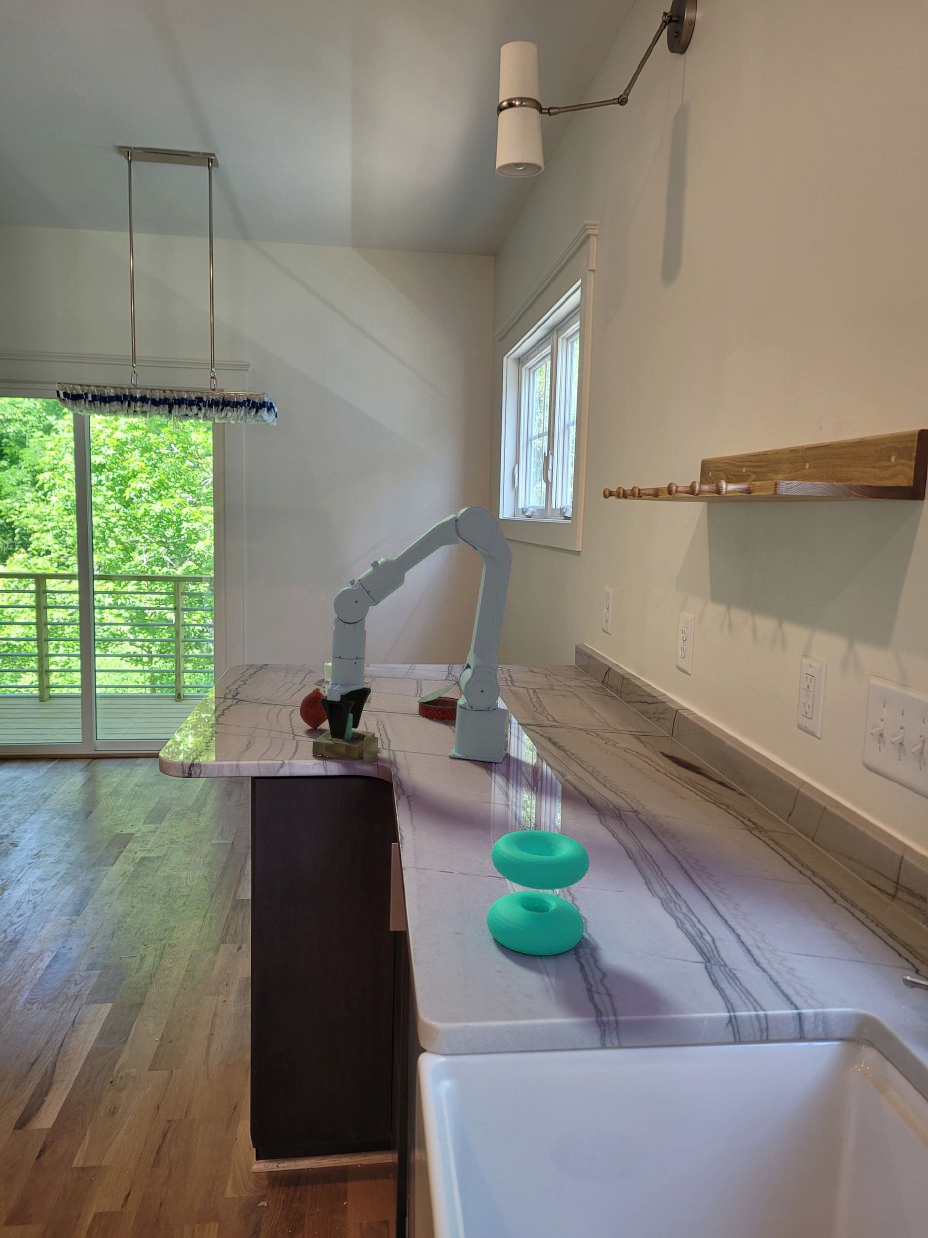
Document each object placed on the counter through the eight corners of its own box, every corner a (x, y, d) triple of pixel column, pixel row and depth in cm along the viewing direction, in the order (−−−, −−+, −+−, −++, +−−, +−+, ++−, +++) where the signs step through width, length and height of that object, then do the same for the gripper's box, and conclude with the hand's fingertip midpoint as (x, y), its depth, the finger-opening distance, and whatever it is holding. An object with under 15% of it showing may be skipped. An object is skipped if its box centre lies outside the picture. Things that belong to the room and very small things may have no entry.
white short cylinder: (359, 694, 199) (360, 664, 199) (339, 698, 194) (341, 667, 193) (336, 689, 203) (337, 659, 202) (316, 693, 197) (317, 663, 196)
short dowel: (378, 759, 149) (380, 737, 149) (374, 763, 147) (376, 740, 147) (365, 758, 150) (366, 735, 149) (361, 762, 148) (362, 738, 147)
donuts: (599, 865, 85) (497, 861, 84) (591, 962, 86) (490, 959, 85) (580, 828, 95) (488, 824, 94) (573, 915, 96) (482, 912, 95)
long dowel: (352, 749, 154) (354, 713, 154) (348, 753, 152) (350, 716, 151) (339, 748, 155) (341, 712, 154) (335, 751, 152) (337, 715, 152)
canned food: (443, 743, 180) (431, 704, 176) (413, 726, 188) (401, 689, 183) (482, 714, 186) (472, 676, 181) (452, 699, 193) (441, 662, 188)
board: (374, 746, 158) (374, 732, 157) (357, 761, 148) (357, 746, 148) (331, 741, 159) (332, 727, 159) (312, 755, 149) (312, 741, 149)
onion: (323, 734, 164) (325, 692, 163) (294, 730, 165) (295, 689, 164) (333, 726, 169) (335, 686, 168) (305, 723, 170) (307, 683, 169)
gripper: (340, 648, 159) (336, 721, 161) (311, 660, 145) (308, 740, 147) (377, 651, 158) (373, 725, 160) (352, 664, 144) (348, 745, 145)
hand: (344, 732), depth 153 cm, fingers open, 7 cm apart
